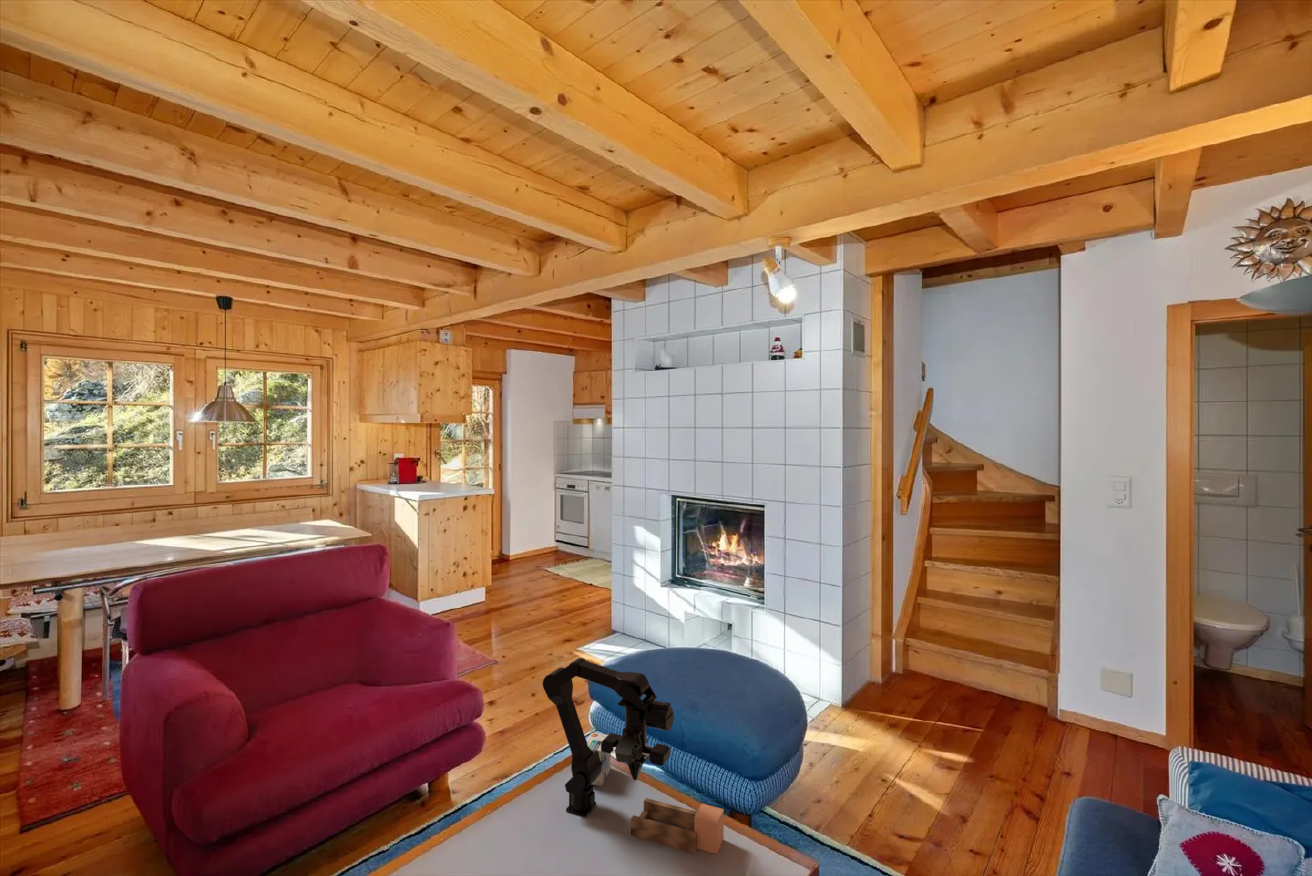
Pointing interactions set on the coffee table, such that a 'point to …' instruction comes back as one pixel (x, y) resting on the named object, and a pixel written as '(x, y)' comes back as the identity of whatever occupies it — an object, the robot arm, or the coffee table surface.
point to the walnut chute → (663, 831)
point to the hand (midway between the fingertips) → (635, 779)
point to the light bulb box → (600, 756)
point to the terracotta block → (709, 828)
